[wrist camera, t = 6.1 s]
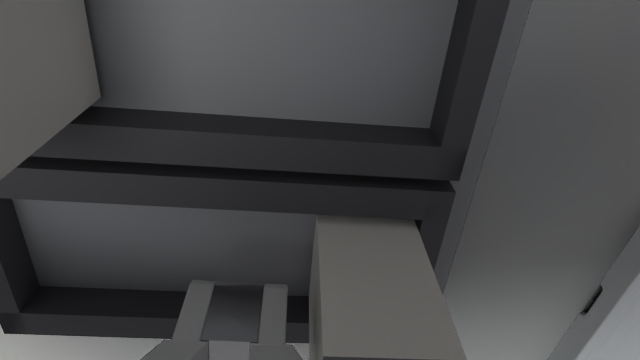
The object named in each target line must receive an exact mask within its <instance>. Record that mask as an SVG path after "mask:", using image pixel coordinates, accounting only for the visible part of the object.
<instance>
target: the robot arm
mask: <svg viewBox="0 0 640 360" xmlns="http://www.w3.org/2000/svg"><path fill="white" fill-rule="evenodd" d="M287 295H288V287H287V285H286V284H265V285H264V284H257V283H238V282H224V281H204V280H192V282H191V283H190V285H189V288H188V291H187V294H186V297H185V300H184V303H183V306H182V309H181V312H180V315H179V318H178V321H177V324H176V328H175V331H174V334H173V337H172V340H163V341H162V342H161V343H160V344H159V345H157V346H156V347H155V348H154V349H153V350H151V351H150V352H149V353H148V354H147V355H145V356H144V357H143V358H142V359H141V360H302V358H301V357H300V355H299V354H298V353H297V351H296V350H295V348H294V347H293V345H285V340H286V317H287Z"/></svg>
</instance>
